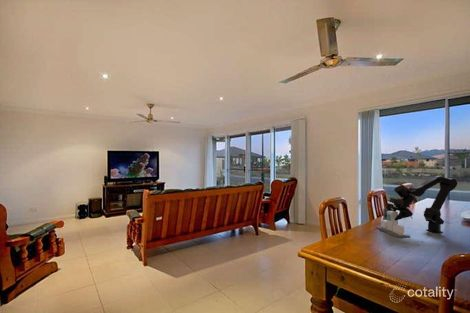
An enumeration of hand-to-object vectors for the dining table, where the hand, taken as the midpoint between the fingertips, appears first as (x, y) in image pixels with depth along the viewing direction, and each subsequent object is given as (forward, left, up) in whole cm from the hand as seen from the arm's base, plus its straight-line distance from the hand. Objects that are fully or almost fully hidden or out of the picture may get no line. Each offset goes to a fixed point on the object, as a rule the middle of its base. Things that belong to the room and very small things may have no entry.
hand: (390, 218), depth 158 cm
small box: (-17, -19, -10) cm, 27 cm away
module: (-1, 0, -8) cm, 8 cm away
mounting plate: (-1, 0, -10) cm, 10 cm away
